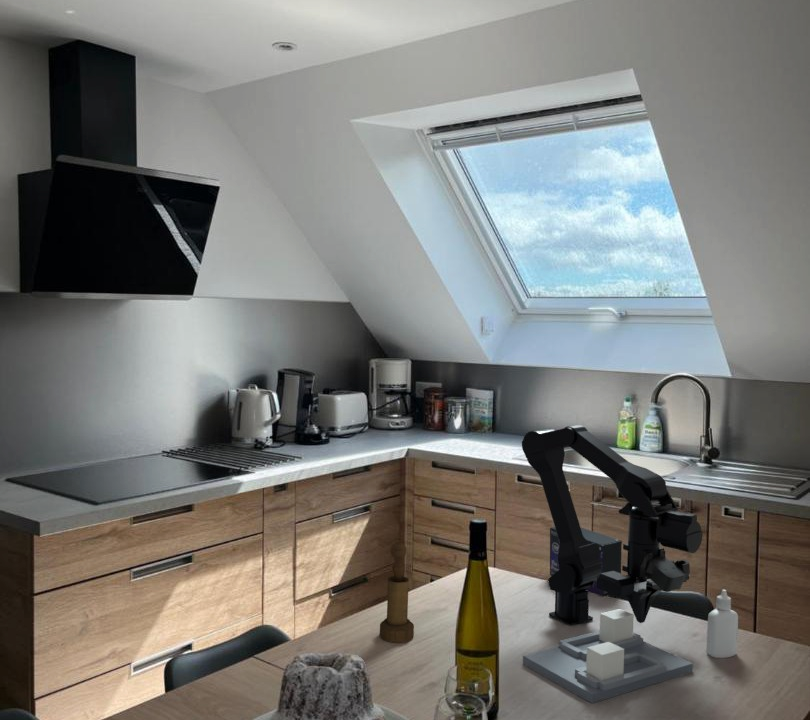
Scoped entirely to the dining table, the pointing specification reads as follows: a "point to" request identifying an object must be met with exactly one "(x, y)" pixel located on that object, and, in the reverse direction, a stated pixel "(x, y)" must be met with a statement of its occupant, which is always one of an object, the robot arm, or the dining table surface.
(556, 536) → the box
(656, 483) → the robot arm
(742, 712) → the dining table surface
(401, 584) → the mortar and pestle
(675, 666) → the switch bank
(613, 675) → the tab
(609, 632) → the tab
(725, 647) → the eye dropper bottle
